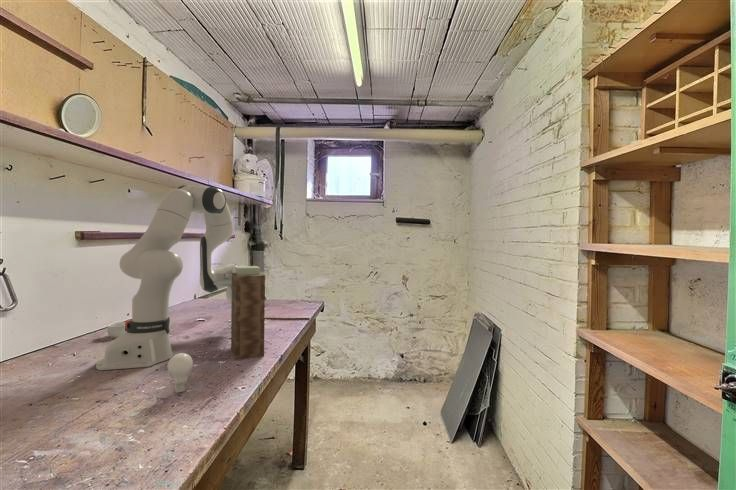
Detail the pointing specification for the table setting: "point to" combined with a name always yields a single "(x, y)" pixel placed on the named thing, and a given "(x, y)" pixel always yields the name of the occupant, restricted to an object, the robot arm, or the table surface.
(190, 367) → the lightbulb
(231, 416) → the table surface
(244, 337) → the upright wooden block
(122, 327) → the teacup
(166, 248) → the robot arm
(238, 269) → the pale green stepped block
